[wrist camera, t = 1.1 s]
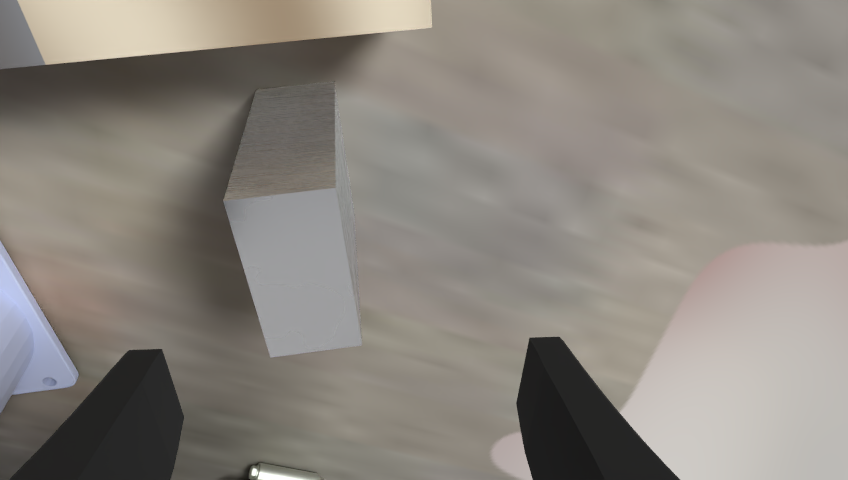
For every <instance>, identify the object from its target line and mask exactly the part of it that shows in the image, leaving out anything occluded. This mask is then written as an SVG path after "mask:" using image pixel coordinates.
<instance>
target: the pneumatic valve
mask: <svg viewBox="0 0 848 480" xmlns="http://www.w3.org/2000/svg"><path fill="white" fill-rule="evenodd" d="M249 479H251V480H324V478H320V477H319V474H318V473H313V472H308V471H302V470H297V469H292V468H286V467H281V466H275V465H270V464H265V463H259V464H258V465H257V466H254V465H253V466H252V467H251V469H250V472H249Z"/></svg>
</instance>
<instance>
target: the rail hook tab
mask: <svg viewBox="0 0 848 480" xmlns="http://www.w3.org/2000/svg"><path fill="white" fill-rule="evenodd" d="M223 202H224V206H225V209H226V212H227V216H228V219H229V222H230V225H231V229H232V232H233V235H234V239H235V242H236V245H237V249H238V252H239V255H240V258H241V262H242V265H243V268H244V272H245V275H246V278H247V282H248V285H249V288H250V291H251V295H252V298H253V301H254V305H255V308H256V311H257V315H258V318H259V321H260V324H261V328H262V331H263V334H264V338H265V341H266V344H267V348H268V351H269V354H270V357H278V356H286V355H293V354H301V353H308V352H316V351H323V350H330V349H338V348H345V347H353V346H360V345H362V335H361V318H360V300H359V283H358V266H357V249H356V232H355V214H354V206H353V199H352V193H351V186H350V180H349V173H348V166H347V160H346V153H345V147H344V140H343V133H342V127H341V120H340V114H339V107H338V100H337V94H336V87H335V81H332V82H322V83H313V84H303V85H293V86H283V87H273V88H263V89H257V90H256V93H255V96H254V100H253V103H252V106H251V110H250V113H249V116H248V120H247V123H246V126H245V130H244V133H243V136H242V140H241V143H240V146H239V150H238V153H237V156H236V160H235V163H234V166H233V169H232V173H231V176H230V179H229V183H228V186H227V189H226V193H225V196H224V199H223Z"/></svg>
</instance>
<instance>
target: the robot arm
mask: <svg viewBox="0 0 848 480" xmlns="http://www.w3.org/2000/svg"><path fill="white" fill-rule="evenodd" d="M78 376H79V374H78V371H77V370H76V368H75V366H74V365H73V363H72V361H71V360H70V358H69V356H68V354H67V353H66V351H65V349H64V348H63V346H62V344H61V343H60V341H59V339H58V338H57V336H56V334H55V333H54V331H53V329H52V327H51V326H50V324H49V322H48V321H47V319H46V317H45V316H44V314H43V312H42V311H41V309H40V307H39V305H38V304H37V302H36V300H35V299H34V297H33V295H32V294H31V292H30V290H29V289H28V287H27V285H26V283H25V282H24V280H23V278H22V277H21V275H20V273H19V272H18V270H17V268H16V267H15V265H14V263H13V261H12V260H11V258H10V256H9V255H8V253H7V251H6V250H5V248H4V246H3V245H2V243H1V241H0V414H1V412H2V411H3V409H4V407H5V405H6V404H7V402H8V400H9V398H10V397H11V395H15V394H22V393H30V392H37V391H45V390H52V389H59V388H67V387H71V386H73V385H74V384H75V383H76V381H77V379H78ZM49 377H50V378H49ZM52 378H53V379H52ZM516 404H517V410H518V416H519V422H520V428H521V433H522V439H523V444H524V449H525V454H526V457H527V461H528V464H529V467H530V471H531V475H532V478H533V480H680V479H679V478H678V477H677V476H676V475H675V474H674V473H673V472H672V471H671V470H670V469H669V468H668V467H667V466H666V465H665V464H664V463H663V462H662V460H661V459H660V458H659V457H658V456H657V455H656V454H655V453H654V452H653V451H652V450H651V449H650V447H649V446H648V445H647V444H646V443H645V442H644V441H643V440H642V439H641V438H640V436H639V435H638V434H637V433H636V432H635V431H634V430H633V428H632V427H631V426H630V425H629V424H628V422H627V421H626V420H625V419H624V418H623V417H622V415H621V414H620V413H619V412H618V411H617V409H616V408H615V407H614V406H613V405H612V403H611V402H610V401H609V400H608V399H607V397H606V396H605V395H604V394H603V392H602V391H601V390H600V389H599V387H598V386H597V385H596V383H595V382H594V381H593V380H592V378H591V377H590V376H589V375H588V373H587V372H586V371H585V369H584V368H583V367H582V365H581V364H580V363H579V361H578V360H577V359H576V357H575V356H574V355H573V353H572V352H571V351H570V349H569V348H568V347H567V345H566V344H565V343H564V341H563V340H562V339H561V338H560V337H538V338H530V339H529V344H528V349H527V353H526V358H525V363H524V368H523V373H522V378H521V383H520V388H519V393H518V398H517V403H516ZM183 419H184V415H183V412H182V409H181V406H180V403H179V400H178V397H177V394H176V391H175V388H174V385H173V382H172V379H171V375H170V372H169V369H168V366H167V363H166V360H165V357H164V354H163V351H162V349H151V350H129V351H128V352H127V353H126V354H125V355H124V356H123V357H122V358H121V359H120V360H119V361H118V362H117V364H116V365H115V366H114V367H113V368H112V369H111V370H110V372H109V373H108V374H107V375H106V376H105V377H104V378H103V380H102V381H101V382H100V383H99V384H98V385H97V386H96V388H95V389H94V390H93V391H92V392H91V393H90V394H89V395H88V397H87V398H86V399H85V400H84V401H83V402H82V403H81V404H80V406H79V407H78V408H77V409H76V410H75V411H74V412H73V413H72V414H71V416H70V417H69V418H68V419H67V420H66V421H65V422H64V423H63V424H62V425H61V426H60V427H59V428H58V430H57V431H56V432H55V433H54V434H53V435H52V436H51V437H50V438H49V439H48V440H47V441H46V443H45V444H44V445H43V446H42V447H41V448H40V449H39V450H38V451H37V452H36V453H35V454H34V455H33V456H32V457H31V458H30V459H29V460H28V461H27V462H26V463H25V464H24V465H23V466H22V467H21V468H20V469H19V470H18V471H17V472H16V473H15V474H14V475H13V476H12V477H11V478H10V479H9V480H170V478H171V475H172V472H173V469H174V464H175V460H176V455H177V450H178V446H179V441H180V435H181V430H182V425H183Z"/></svg>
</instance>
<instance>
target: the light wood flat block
mask: <svg viewBox="0 0 848 480" xmlns="http://www.w3.org/2000/svg"><path fill="white" fill-rule="evenodd" d="M423 28H432V15H431V0H0V69H7V68H18V67H28V66H39V65H49V64H59V63H70V62H80V61H90V60H101V59H111V58H122V57H132V56H142V55H153V54H163V53H174V52H184V51H194V50H205V49H215V48H226V47H236V46H246V45H257V44H267V43H277V42H288V41H298V40H309V39H319V38H329V37H340V36H350V35H361V34H371V33H381V32H392V31H402V30H413V29H423Z"/></svg>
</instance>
